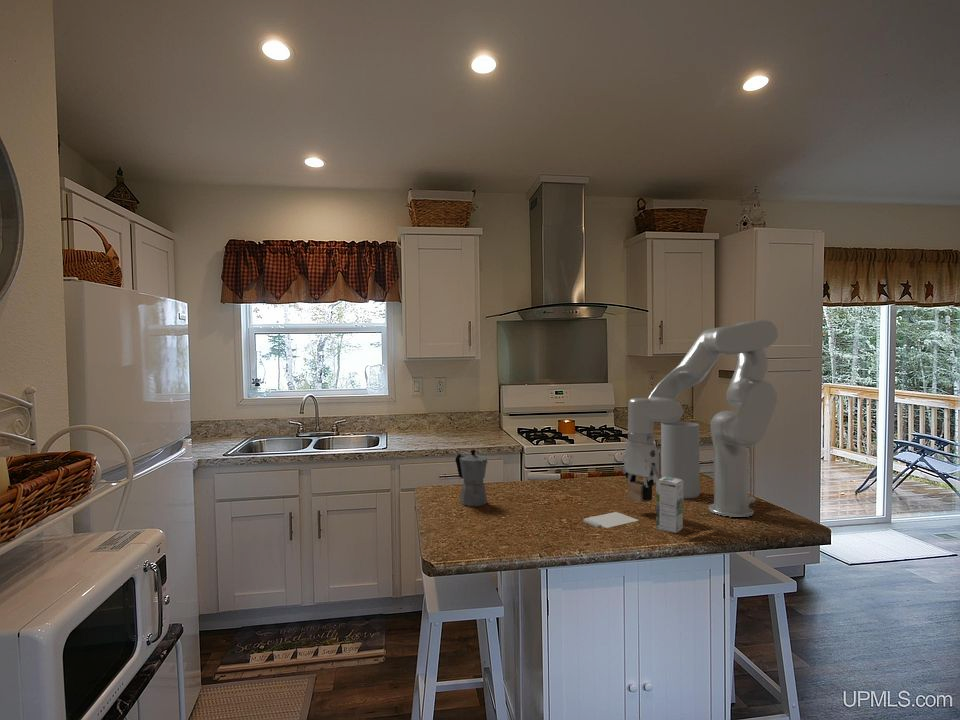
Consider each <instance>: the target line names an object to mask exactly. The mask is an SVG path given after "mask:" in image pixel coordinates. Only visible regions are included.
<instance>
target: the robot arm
mask: <svg viewBox="0 0 960 720" xmlns="http://www.w3.org/2000/svg"><path fill="white" fill-rule="evenodd" d="M778 335H779V332H778V328H777V327H776V325H775V324H774V323H773V322H771V320H770V321H769V320H767V319H758V320H757V319H756V320H748V321H741V322H738V323H735V324H734V325H733V324H732V325H731V326H730V325H729V326H720V327H713V328H712V327H711V328H707V329H705V330H704V331H702V332H701V333H700V334H699V335H698V336H697V338H696V340H695V341H694V343H693V344H692V345H691V347H690V348H689V350H688V351H687V353H686V354H685V355H684V357H683V358H682V359H681V361H680V362H679V363H678V365H677V366H676V367H675V368H673V369H672V370H671V371H670V372H669V373H668V374H667V375H666V376H665V377H663V378H662V380H661V381H659V382H658V383H657V385H656V386H655V387H654V389H653V390H652V391H651V393H650V395H649V396H648V397H647V398H646V397H634V398H630V399H629V400H628V405H627V412H628V413H627V441H626V445H625V451H624V459H623V460H624V464H623V466H622V467H621V471H622V473H623V475H625V478H626V481H627V483H628V482H634V481H637V480H638V477H641V478H642V481H643V482H644V486H645V487H643V500H645V501H646V500H651V499H652V500H653V487H655V485H656V484H657V480H659V479H661V478H662V476H660V474H659V455H658V449H657V446H656V444H655V443H654V442H655V441H656V437H655V436H654V435H655V434H654V432H655V431H654V428H655V427H654V426H655V422H656V423H673V422H679V420H680V419H682V417H683V414H684V409H683V406H682V405H681V403H680V402H678V401H677V400H676V398H677V397H678V396H679V395H681V394H682V393H683V392H684V391H686V390H688V389H689V388H691V387H694V386H697V385H699V384H700V383H701V382H702V381H704V380H706V379H705V378H706V377H707V376H708V374H709V373H710V371H711V370H712V368H713V367H714V365H716V363H717V361H718V360H719V359H720V357H721V356H733V355H736V356H737V362H736V366H735V369H734V372H733V374H732V377H731V380H730V382H729V385H728V387H727V391H726V394H725V395H726V397H725V398H726V401H727V402H728V404H729V405H730V406H731V407H734V408H737V409H739V411H736V410H735V411H734V410H722V411H719V412H717V413H715V414H714V415H713V417H712V418H711V420H710V426H709V427H710V428H709V429H710V434H711V440H712V445H713V446H712V449H713V503H711V504H709V505H708V511H709V512H710V513H712V514H714V513H715V514H714V515H717V514H718V516H720V515H722V516H721V517H725V516H729V517H728V518H731V517H748V518H750V517H749V516H752V515H753V514H755V512H754V510H753V509H752V508H751V507H750V506H749V505H751V504H754V503H756V498H755V497H754V496H749V493H748V492H749V490H748V489H749V483H748V482H749V481H748V479H749V477H748V476H749V475H748V474H749V473H748V470H749V469H748V462H749V460H748V459H749V458H748V450H747V447H753V446H755V445H757V444H759V443H760V442H761V441H762V440H763V438H764V437H765V434H766V432H767V429H768V427H769V426H770V425H769V424H770V422H771V419H772V416H773V414H774V412H775V408H776V405H777V400H778V395H777V392H776V389H775V387H774V385H773V384H771V383H770V382H768V381H767V380H765V378H766V374H767V370H768V365H769V362H768V360H769V359H768V357H767V354H766V351H765V349H766V348H769V347H771V346H772V345H773V344H775V342H776V341H777V339H778ZM646 502H647V501H646ZM753 516H754V515H753ZM753 516H752V517H753Z"/></svg>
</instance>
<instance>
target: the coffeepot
mask: <svg viewBox="0 0 960 720" xmlns="http://www.w3.org/2000/svg"><path fill="white" fill-rule="evenodd" d="M476 451H477V450H476V449H474V448H473V449H471V450H470V453H471V454H470V455H469V454H468V455H467V454H462V453H458V454H457V456H455V464H456V468H457V472H458V477H459V478H461V479H463V483H462V487H461V492H460V493H461V494H460V500H459V503H460V502H461V503H462V504H463V505H462V504H461V503H460V504H461V505H462V506H465V505H467V506H466V507H481V506H484V505H486V504H487V502H488V498H487V492H486V486H485V483H484V478H485V477H486V470H487V464H488V462H489V461H488V457H485V456H482V455H478V454H476Z"/></svg>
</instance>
